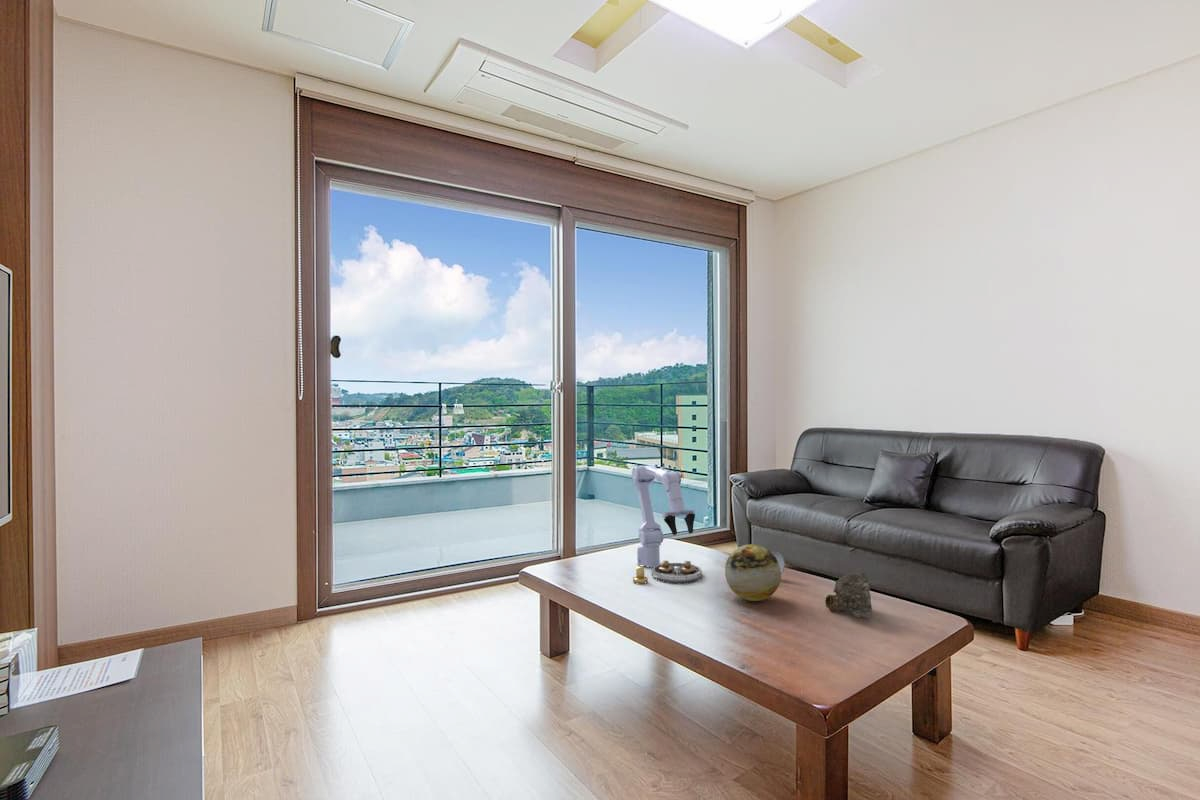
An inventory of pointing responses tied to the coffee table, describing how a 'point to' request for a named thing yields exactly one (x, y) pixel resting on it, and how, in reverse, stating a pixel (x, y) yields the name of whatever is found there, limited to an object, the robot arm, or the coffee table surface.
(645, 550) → the robot arm
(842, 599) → the rock
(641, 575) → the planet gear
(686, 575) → the carrier
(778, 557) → the pocket watch
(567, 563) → the coffee table surface
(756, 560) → the decorative sphere
